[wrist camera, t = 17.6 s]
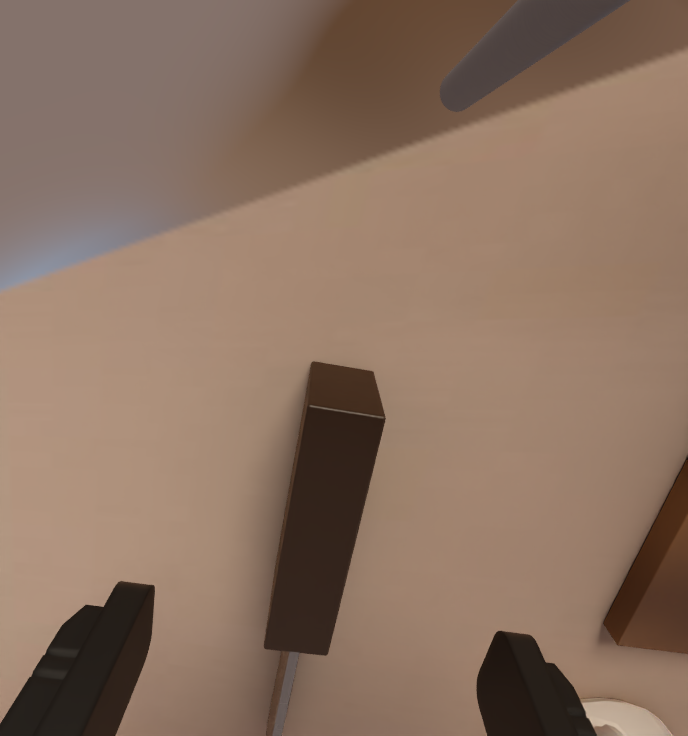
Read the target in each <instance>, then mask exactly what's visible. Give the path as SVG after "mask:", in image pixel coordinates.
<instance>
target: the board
mask: <svg viewBox="0 0 688 736" xmlns="http://www.w3.org/2000/svg"><path fill="white" fill-rule="evenodd" d="M604 625H605V627H606V628H607V630H608V632H609V633H610V635H611V636H612V638H613V639H614V641H615V642H616V644H617V645H620V646H628V647H636V648H644V649H653V650H661V651H669V652H677V653H686V654H688V458H687V460H686V462H685V464H684V466H683V468H682V470H681V472H680V474H679V476H678V478H677V480H676V482H675V484H674V486H673V488H672V490H671V492H670V494H669V496H668V498H667V500H666V502H665V503H664V505H663V507H662V509H661V511H660V513H659V515H658V517H657V519H656V521H655V523H654V525H653V527H652V529H651V531H650V533H649V535H648V537H647V539H646V541H645V543H644V545H643V547H642V549H641V551H640V552H639V554H638V556H637V558H636V560H635V562H634V564H633V566H632V568H631V570H630V572H629V574H628V576H627V578H626V580H625V582H624V584H623V586H622V588H621V590H620V592H619V594H618V596H617V598H616V599H615V601H614V603H613V605H612V607H611V609H610V611H609V613H608V615H607V617H606V619H605V621H604Z"/></svg>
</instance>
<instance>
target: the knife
mask: <svg viewBox="0 0 688 736" xmlns="http://www.w3.org/2000/svg"><path fill="white" fill-rule="evenodd" d="M385 419H386V418H385V414H384V410H383V407H382V403H381V399H380V395H379V391H378V388H377V384H376V380H375V376H374V372H372V371H367V370H361V369H355V368H349V367H343V366H337V365H332V364H326V363H320V362H312V363H311V368H310V374H309V379H308V385H307V391H306V396H305V402H304V408H303V413H302V419H301V425H300V430H299V436H298V441H297V447H296V453H295V458H294V464H293V470H292V475H291V481H290V487H289V492H288V498H287V504H286V509H285V515H284V521H283V526H282V532H281V537H280V543H279V549H278V554H277V560H276V566H275V572H274V579H273V586H272V593H271V600H270V607H269V614H268V621H267V628H266V635H265V641H264V648H265V649H270V650H279V651H281V655H280V660H279V666H278V671H277V676H276V681H275V686H274V691H273V696H272V701H271V706H270V711H269V716H268V722H267V730H266V736H282V732H283V727H284V723H285V718H286V713H287V709H288V704H289V699H290V695H291V690H292V686H293V681H294V676H295V672H296V667H297V663H298V658H299V653H307V654H316V655H325V656H326V655H327V654H328V652H329V648H330V643H331V639H332V635H333V631H334V627H335V623H336V619H337V615H338V611H339V607H340V603H341V599H342V595H343V590H344V586H345V582H346V578H347V574H348V570H349V566H350V562H351V558H352V554H353V550H354V546H355V542H356V537H357V533H358V529H359V525H360V521H361V517H362V513H363V509H364V505H365V501H366V497H367V493H368V489H369V484H370V480H371V476H372V472H373V468H374V464H375V460H376V456H377V452H378V448H379V444H380V440H381V436H382V432H383V427H384V423H385Z"/></svg>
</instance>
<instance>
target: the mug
mask: <svg viewBox="0 0 688 736" xmlns="http://www.w3.org/2000/svg"><path fill="white" fill-rule="evenodd" d="M580 701H581V703H582V705H583V707H584V709H585V711H586V717H587V718H589V720H590V722H591V724H592V726H593V728H594V730H595V732H596V734H597V736H673V735H672V734H671V732H670V731H669V730H668V728H667V727H666V726H665V724H664V723H663V722H662V721H661V719H659V718H658V717H657V716H655V715H654V714H653V713H651V712H650V711H648V710H647V709H644V708H641V707H639V706H636V705H633V704H630V703H627V702H624V701H621V700H618V699H609V698H588V699H580Z"/></svg>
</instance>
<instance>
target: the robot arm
mask: <svg viewBox="0 0 688 736" xmlns="http://www.w3.org/2000/svg"><path fill="white" fill-rule="evenodd" d="M154 595H155V587H154V585H146V584H139V583H131V582H123V581H120V582H118V583H117V585H116V586H115V588H114V589H113V591H112V593H111V595H110V596H109V598H108V600H107V602H106V604H105V605H104V607H100V606H92V605H85V606H84V607H83V608H82V609H80V610H79V611H78V612H77V613H76V614H75V615H73V616H72V617H71V618H70V619H69V620H68V621H66V622H65V623H64V624H63V625H62V626H61V628H60V630H59V631H58V633H57V634H56V636H55V638H54V639H53V641H52V642H51V644H50V645H49V647H48V649H47V651H46V654H45V655H43V657H42V658H41V660H40V661H39V663H38V665H37V666H36V668H35V669H34V671H33V674H32V676H31V677H29V679H28V681H27V682H26V684H25V685H24V687H23V688H22V690H21V692H20V693H19V695H18V696H17V698H16V700H15V701H14V703H13V704H12V706H11V708H10V709H9V711H8V712H7V714H6V716H5V717H4V719H3V720H2V722H1V723H0V736H115V735H116V733H117V730H118V728H119V725H120V723H121V720H122V718H123V715H124V713H125V710H126V708H127V705H128V703H129V700H130V698H131V695H132V693H133V691H134V688H135V686H136V683H137V681H138V678H139V676H140V673H141V671H142V668H143V665H144V663H145V660H146V657H147V653H148V650H149V646H150V641H151V636H152V624H153V609H154ZM477 699H478V704H479V708H480V712H481V715H482V719H483V722H484V726H485V729H486V733H487V736H597V734H596V732H595V730H594V728H593V726H592V724H591V722H590V720H589V718H587V717H586V711H585V709H584V707H583V705H582V703H581V701H580V699H579V697H578V695H577V693H576V691H575V689H574V687H573V686H572V684H571V683H570V682H569V681H568V680H567V678H566V677H565V676H564V675H563V674H562V672H561V671H560V670H559V669H558V668H557V666H556V665H555V664H554V663H546V662H545V660H544V658H543V656H542V653H541V651H540V649H539V647H538V645H537V643H536V641H535V639H534V638H533V637H532V636H531V635H528V634H520V633H512V632H504V631H498V632H496V634H495V635H494V638H493V640H492V642H491V645H490V647H489V649H488V652H487V654H486V657H485V659H484V661H483V664H482V666H481V668H480V671H479V674H478V677H477Z"/></svg>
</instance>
